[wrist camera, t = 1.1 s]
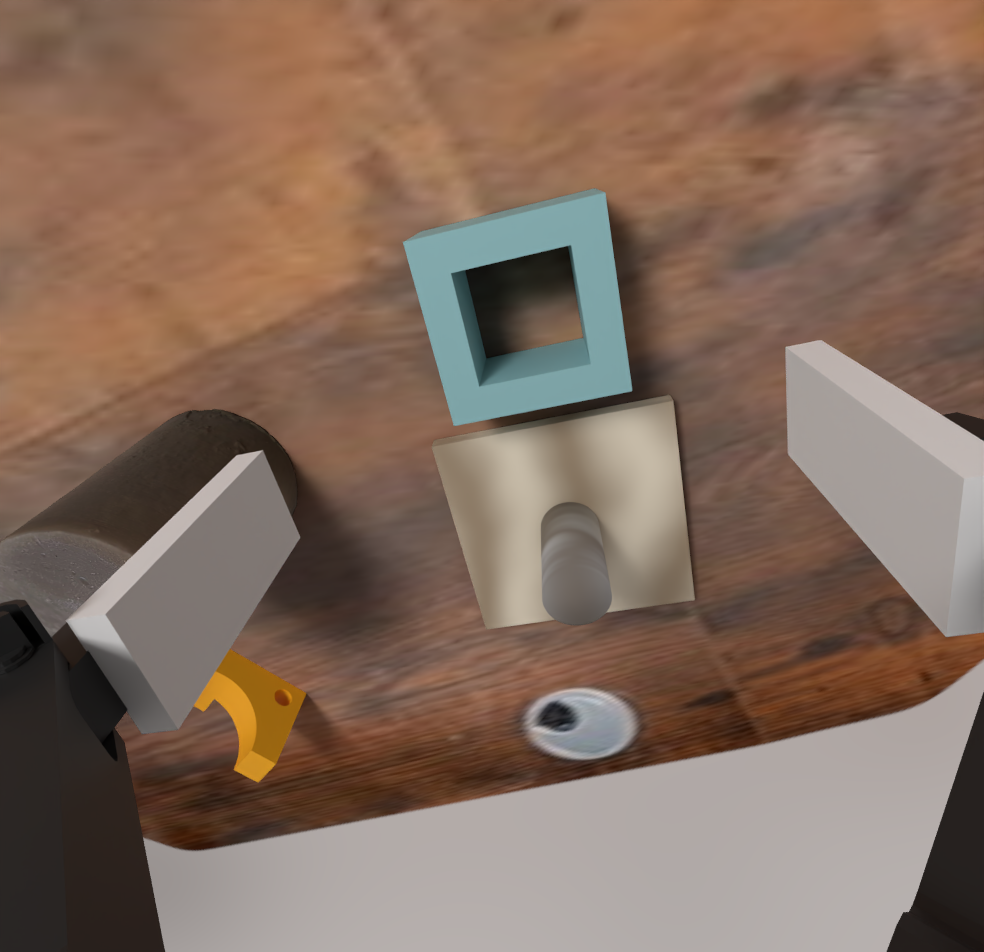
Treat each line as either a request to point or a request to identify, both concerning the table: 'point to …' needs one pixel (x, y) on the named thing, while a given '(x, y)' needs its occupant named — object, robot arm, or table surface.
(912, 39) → the table surface
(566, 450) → the post block
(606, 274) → the collar
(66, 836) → the robot arm
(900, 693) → the table surface
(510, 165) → the table surface
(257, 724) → the pipe clamp
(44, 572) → the pillar candle
